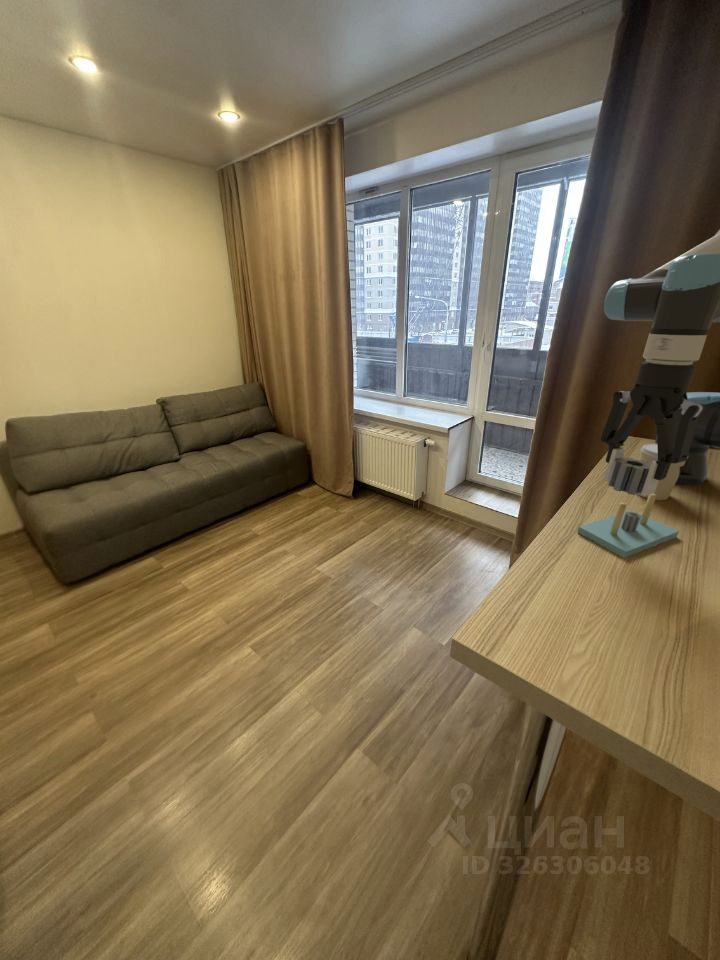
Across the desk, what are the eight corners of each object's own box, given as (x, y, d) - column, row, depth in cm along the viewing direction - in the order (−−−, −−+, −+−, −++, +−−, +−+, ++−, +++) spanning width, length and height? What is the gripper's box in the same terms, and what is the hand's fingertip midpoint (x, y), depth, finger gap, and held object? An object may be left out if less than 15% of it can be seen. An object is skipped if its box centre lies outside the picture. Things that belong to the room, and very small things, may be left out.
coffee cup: (680, 503, 92) (698, 457, 87) (637, 499, 93) (653, 454, 88) (660, 486, 100) (676, 444, 95) (622, 484, 102) (635, 442, 97)
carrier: (628, 515, 86) (639, 482, 83) (676, 537, 78) (691, 501, 74) (577, 532, 80) (586, 497, 76) (623, 558, 72) (637, 519, 68)
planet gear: (620, 478, 76) (628, 455, 74) (654, 491, 71) (663, 466, 69) (599, 483, 73) (607, 460, 71) (633, 497, 68) (641, 472, 66)
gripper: (598, 356, 69) (570, 471, 79) (727, 370, 53) (672, 512, 63) (624, 354, 72) (594, 466, 81) (754, 367, 56) (697, 503, 65)
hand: (628, 486), depth 72 cm, fingers closed on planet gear, 6 cm apart
